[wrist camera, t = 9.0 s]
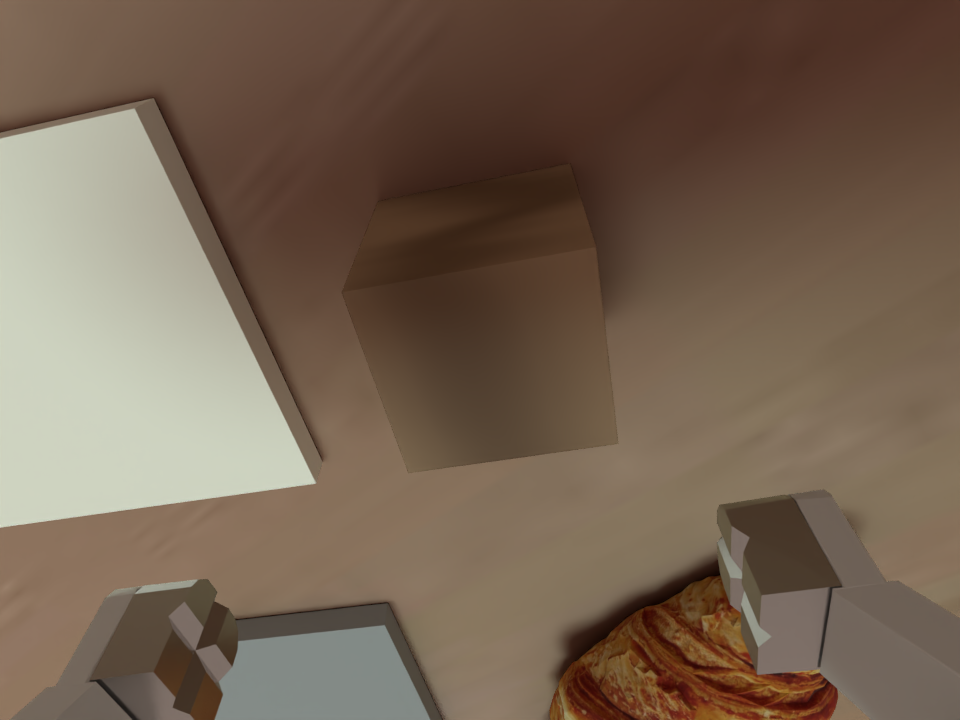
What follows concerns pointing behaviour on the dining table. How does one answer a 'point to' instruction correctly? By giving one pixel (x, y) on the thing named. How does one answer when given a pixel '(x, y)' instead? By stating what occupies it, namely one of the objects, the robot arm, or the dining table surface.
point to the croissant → (685, 669)
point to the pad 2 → (325, 669)
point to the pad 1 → (127, 332)
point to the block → (485, 321)
